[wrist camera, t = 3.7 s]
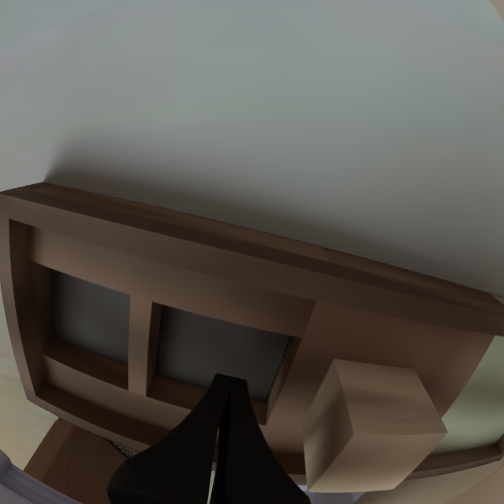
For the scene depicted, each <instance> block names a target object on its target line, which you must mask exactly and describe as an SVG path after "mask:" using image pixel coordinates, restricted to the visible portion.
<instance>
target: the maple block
mask: <svg viewBox="0 0 504 504" xmlns="http://www.w3.org/2000/svg"><path fill="white" fill-rule="evenodd" d="M302 431H303V442H304V454H305V467H306V480H307V492H325V493H339V492H367V491H380V490H391V489H394V488H395V487H396V486H397V485H398V484H400V483H401V482H402V481H403V480H404V479H405V478H406V477H407V476H408V475H409V474H410V473H411V472H412V471H413V470H414V469H415V468H416V467H417V466H418V465H419V464H420V463H421V462H422V461H423V460H424V459H425V458H426V457H427V456H428V455H429V454H430V453H431V452H432V450H433V449H434V448H435V447H436V446H437V445H438V444H439V443H440V441H441V440H442V439H443V438H444V437H445V436H446V434H447V433H448V431H447V429H446V427H445V425H444V423H443V421H442V419H441V418H440V416H439V414H438V412H437V410H436V408H435V406H434V404H433V402H432V401H431V399H430V397H429V395H428V393H427V391H426V390H425V388H424V386H423V384H422V382H421V381H420V379H419V377H418V375H417V374H416V372H415V370H414V369H410V368H401V367H392V366H383V365H376V364H368V363H361V362H354V361H347V360H341V359H335V358H334V360H333V362H332V364H331V366H330V368H329V370H328V372H327V374H326V376H325V378H324V380H323V382H322V384H321V386H320V388H319V390H318V392H317V394H316V396H315V398H314V400H313V402H312V404H311V406H310V408H309V409H308V411H307V413H306V415H305V417H304V419H303V421H302Z"/></svg>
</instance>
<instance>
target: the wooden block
mask: <svg viewBox="0 0 504 504" xmlns="http://www.w3.org/2000/svg"><path fill="white" fill-rule="evenodd" d="M126 459H128V458H127V457H126V456H125V455H124V454H123V453H122V452H120V451H119V450H118V449H117V448H116V447H115V446H114V445H113V444H111V443H110V442H109V441H108V440H107V439H106V438H104V437H102V436H99V435H97V434H95V433H92V432H90V431H88V430H85V429H83V428H81V427H79V426H77V425H75V424H72V423H70V422H68V421H66V420H64V419H60V420H57V421H55V422H54V424H53V425H52V427H51V428H50V430H49V431H48V433H47V434H46V436H45V437H44V439H43V441H42V442H41V444H40V445H39V447H38V448H37V450H36V451H35V453H34V454H33V456H32V458H31V459H30V461H29V462H28V464H27V466H26V467H25V469H24V470H23V471H24V472H25V473H27V474H29V475H30V476H32V477H34V478H35V479H37V480H39V481H40V482H42V483H44V484H46V485H47V486H49V487H51V488H53V489H55V490H56V491H58V492H60V493H62V494H64V495H66V496H68V497H70V498H72V499H74V500H76V501H78V502H80V503H83V504H111V503H110V500H109V497H108V495H107V492H106V489H107V486H108V484H109V481H110V479H111V477H112V476H113V474H114V473H115V471H116V470H117V469H118V467H119V466H120V465H121V464H122V463H123V462H124V461H125V460H126Z"/></svg>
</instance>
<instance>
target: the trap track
mask: <svg viewBox="0 0 504 504" xmlns="http://www.w3.org/2000/svg"><path fill="white" fill-rule="evenodd" d="M0 282H1V290H2V297H3V303H4V309H5V315H6V320H7V326H8V330H9V335H10V340H11V344H12V348H13V352H14V356H15V360H16V364H17V367H18V371H19V374H20V378H21V381H22V384H23V387H24V390H25V393H26V396H27V399H28V400H29V401H31V402H32V403H34V404H36V405H38V406H39V407H41V408H43V409H45V410H47V411H49V412H51V413H52V414H54V415H56V416H58V417H60V418H62V419H64V420H66V421H68V422H70V423H72V424H75V425H77V426H79V427H81V428H83V429H85V430H88V431H90V432H92V433H95V434H97V435H99V436H102V437H104V438H107V439H109V440H112V441H114V442H117V443H119V444H122V445H125V446H128V447H130V448H133V449H136V450H139V451H144V450H145V449H147V448H148V447H150V446H151V445H153V444H154V443H156V442H157V441H159V440H160V439H162V438H163V437H164V436H166V435H167V434H168V433H169V432H170V431H172V430H173V429H174V428H175V427H176V426H177V425H178V424H179V423H181V422H182V421H183V420H184V419H185V418H186V416H187V415H188V414H189V413H190V412H191V411H192V410H193V409H194V407H195V406H196V405H197V404H198V403H199V401H200V400H201V398H202V397H203V396H204V394H205V393H206V391H207V390H208V388H209V386H210V385H211V383H212V381H213V378H214V375H215V374H217V373H219V374H223V375H227V376H232V377H236V378H241V379H245V380H246V381H247V384H248V391H249V396H250V400H251V403H252V407H253V410H254V413H255V416H256V419H257V421H258V424H259V426H260V429H261V431H262V433H263V435H264V438H265V440H266V442H267V443H268V445H269V447H270V449H271V451H272V452H273V454H274V455H275V457H276V459H277V460H278V462H279V463H280V464H281V466H282V467H283V468H284V470H285V471H286V472H287V474H288V475H289V476H290V477H291V479H292V480H293V481H294V482H301V483H307V480H306V467H305V454H304V442H303V431H302V421H303V419H304V417H305V415H306V413H307V411H308V409H309V408H310V406H311V404H312V402H313V400H314V398H315V396H316V394H317V392H318V390H319V388H320V386H321V384H322V382H323V380H324V378H325V376H326V374H327V372H328V370H329V368H330V366H331V364H332V362H333V360H334V358H335V359H341V360H347V361H354V362H361V363H368V364H376V365H383V366H392V367H401V368H410V369H414V370H415V372H416V374H417V375H418V377H419V379H420V381H421V382H422V384H423V386H424V388H425V390H426V391H427V393H428V395H429V397H430V399H431V401H432V402H433V404H434V406H435V408H436V410H437V412H438V414H439V416H440V418H441V419H442V421H443V423H444V425H445V427H446V429H447V431H448V433H447V434H446V436H445V437H444V438H443V439H442V440H441V441H440V443H439V444H438V445H437V446H436V447H435V448H434V449H433V450H432V452H431V453H430V454H429V455H428V456H427V457H426V458H425V459H424V460H423V461H422V462H421V463H420V464H419V465H418V466H417V467H416V468H415V469H414V470H413V471H412V472H411V473H410V474H409V475H408V476H407V477H406V478H405V479H404V480H409V479H416V478H423V477H430V476H436V475H441V474H447V473H452V472H456V471H461V470H465V469H469V468H473V467H477V466H481V465H485V464H488V463H492V462H495V461H498V460H501V459H502V457H503V456H504V298H503V297H500V296H497V295H493V294H490V293H487V292H483V291H480V290H476V289H473V288H470V287H466V286H463V285H459V284H456V283H452V282H449V281H445V280H442V279H438V278H435V277H431V276H428V275H424V274H420V273H417V272H413V271H410V270H406V269H402V268H399V267H395V266H391V265H388V264H384V263H380V262H377V261H373V260H369V259H365V258H362V257H358V256H354V255H350V254H347V253H343V252H339V251H335V250H331V249H327V248H324V247H320V246H316V245H312V244H308V243H304V242H300V241H296V240H292V239H288V238H284V237H280V236H276V235H272V234H268V233H264V232H260V231H256V230H252V229H248V228H244V227H240V226H236V225H232V224H227V223H223V222H219V221H215V220H211V219H206V218H202V217H198V216H194V215H189V214H185V213H181V212H177V211H172V210H168V209H164V208H159V207H155V206H150V205H146V204H141V203H137V202H132V201H128V200H123V199H119V198H114V197H110V196H105V195H101V194H96V193H91V192H87V191H82V190H77V189H72V188H67V187H63V186H58V185H53V184H48V183H43V182H41V183H36V184H32V185H27V186H23V187H18V188H14V189H10V190H6V191H2V192H0ZM163 305H164V311H163ZM162 311H163V319H162ZM161 320H162V328H161ZM160 329H161V338H160ZM290 336H291V338H290ZM289 338H290V341H289ZM159 339H160V348H159ZM288 341H289V344H288V346H287V343H288ZM286 346H287V349H286ZM285 349H286V352H285ZM158 350H159V360H158ZM284 352H285V354H284ZM283 354H284V357H283ZM282 357H283V360H282ZM281 360H282V362H281ZM157 361H158V372H157ZM280 362H281V365H280ZM279 365H280V368H279ZM278 368H279V370H278ZM277 370H278V373H277ZM276 373H277V375H276ZM275 375H276V378H275ZM274 378H275V380H274ZM273 380H274V383H273ZM272 383H273V385H272ZM271 386H272V388H271ZM270 388H271V390H270ZM269 391H270V393H269ZM268 393H269V395H268ZM267 396H268V398H267ZM266 398H267V400H266ZM218 436H219V428H218V431H217V438H216V444H215V450H214V457H213V464H212V471H216V461H217V448H218Z"/></svg>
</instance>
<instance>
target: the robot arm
mask: <svg viewBox="0 0 504 504" xmlns="http://www.w3.org/2000/svg"><path fill="white" fill-rule="evenodd" d="M218 428H219V436H218V448H217V461H216V471H215V477H214V482H213V488H212V493H211V498H210V503H209V504H354V502H355V501H356V500H358V499H359V498H360V497H361V496H362V495H363V494H364V493H365V492H339V493H325V492H307V483H301V482H294V481H293V480H292V479H291V477H290V476H289V475H288V474H287V472H286V471H285V470H284V468H283V467H282V466H281V464H280V463H279V462H278V460H277V459H276V457H275V455H274V454H273V452H272V451H271V449H270V447H269V445H268V443H267V442H266V440H265V438H264V435H263V433H262V431H261V429H260V426H259V424H258V421H257V419H256V416H255V413H254V410H253V407H252V403H251V400H250V396H249V391H248V384H247V381H246V380H245V379H241V378H236V377H232V376H227V375H223V374H219V373H217V374H215V375H214V378H213V381H212V383H211V385H210V386H209V388H208V390H207V391H206V393H205V394H204V396H203V397H202V398H201V400H200V401H199V403H198V404H197V405H196V406H195V407H194V409H193V410H192V411H191V412H190V413H189V414H188V415H187V416H186V418H185V419H184V420H183V421H182V422H181V423H179V424H178V425H177V426H176V427H175V428H174V429H173V430H172V431H170V432H169V433H168V434H167V435H166V436H164V437H163V438H162V439H160V440H159V441H157V442H156V443H154V444H153V445H151V446H150V447H148V448H147V449H145V450H144V451H142V452H140V453H138V454H136V455H134V456H132V457H130V458H128V459H126V460H125V461H124V462H123V463H122V464H121V465H120V466H119V467H118V469H117V470H116V471H115V473H114V474H113V476H112V477H111V479H110V481H109V484H108V486H107V489H106V492H107V495H108V497H109V500H110V503H111V504H207V501H208V495H209V486H210V478H211V471H212V464H213V457H214V450H215V444H216V438H217V431H218ZM0 504H83V503H80V502H78V501H76V500H74V499H72V498H70V497H68V496H66V495H64V494H62V493H60V492H58V491H56V490H55V489H53V488H51V487H49V486H47V485H46V484H44V483H42V482H40V481H39V480H37V479H35V478H34V477H32V476H30V475H29V474H27V473H25V472H24V471H22V470H21V469H19V468H18V467H16V466H15V465H13V464H12V463H11V461H10V459H9V457H8V456H7V455H6V454H5V453H4V452H3V451H1V450H0Z"/></svg>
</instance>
